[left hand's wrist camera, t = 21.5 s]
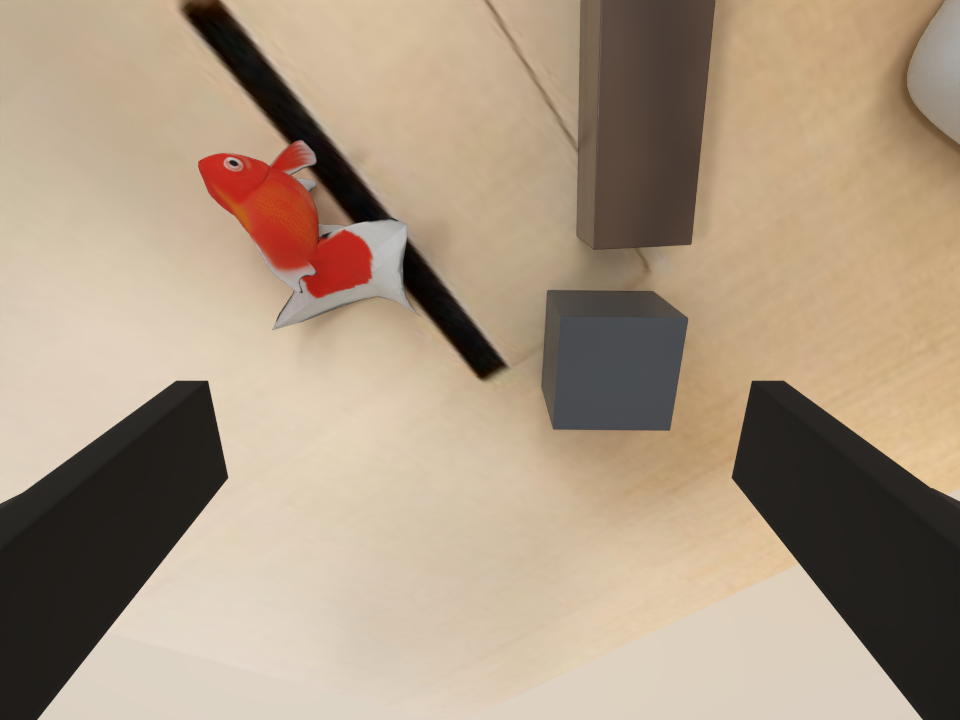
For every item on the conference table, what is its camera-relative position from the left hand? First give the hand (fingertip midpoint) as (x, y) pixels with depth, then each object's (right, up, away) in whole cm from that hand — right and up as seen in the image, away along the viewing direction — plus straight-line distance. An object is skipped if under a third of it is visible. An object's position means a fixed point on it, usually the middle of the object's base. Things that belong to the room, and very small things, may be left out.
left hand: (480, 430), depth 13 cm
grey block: (+9, +3, +27) cm, 29 cm away
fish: (-10, +11, +25) cm, 29 cm away
